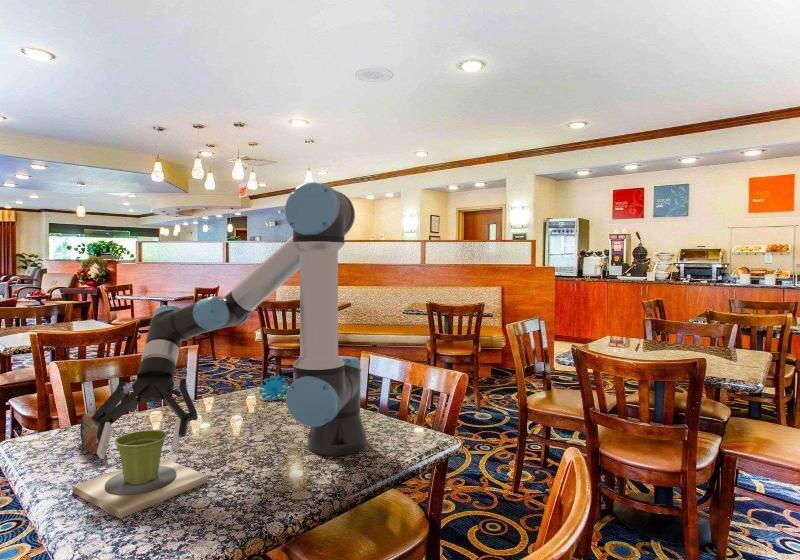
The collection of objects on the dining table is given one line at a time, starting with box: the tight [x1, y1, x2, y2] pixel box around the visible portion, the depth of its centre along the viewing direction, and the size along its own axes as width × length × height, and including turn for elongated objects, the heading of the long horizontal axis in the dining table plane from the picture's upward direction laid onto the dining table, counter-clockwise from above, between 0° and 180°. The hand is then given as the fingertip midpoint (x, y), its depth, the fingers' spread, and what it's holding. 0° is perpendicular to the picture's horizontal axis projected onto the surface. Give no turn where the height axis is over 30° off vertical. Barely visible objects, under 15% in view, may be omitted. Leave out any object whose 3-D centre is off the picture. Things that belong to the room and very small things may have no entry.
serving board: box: [71, 456, 208, 519], centre depth 99 cm, size 18×18×2 cm
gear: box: [258, 374, 289, 402], centre depth 167 cm, size 11×6×10 cm
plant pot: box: [114, 429, 168, 485], centre depth 99 cm, size 9×9×9 cm
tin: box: [79, 412, 110, 455], centre depth 119 cm, size 15×3×8 cm, turn 47°
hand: (138, 453), depth 96 cm, fingers open, 13 cm apart
